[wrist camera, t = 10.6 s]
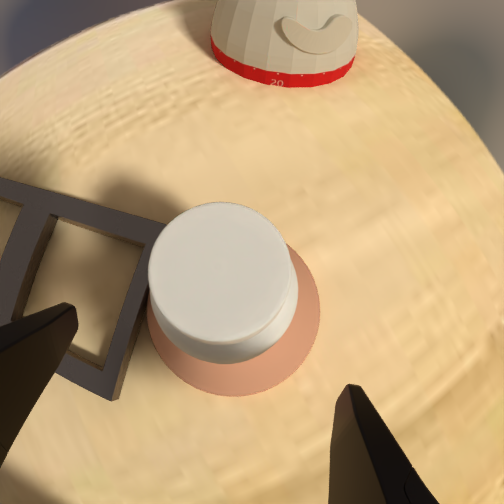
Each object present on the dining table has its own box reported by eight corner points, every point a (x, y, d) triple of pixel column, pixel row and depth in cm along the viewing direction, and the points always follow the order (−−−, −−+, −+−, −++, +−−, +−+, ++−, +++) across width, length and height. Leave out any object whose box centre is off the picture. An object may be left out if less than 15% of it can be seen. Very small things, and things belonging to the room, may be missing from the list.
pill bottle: (281, 355, 17) (326, 361, 8) (185, 360, 17) (121, 370, 8) (273, 262, 19) (304, 175, 9) (182, 267, 18) (127, 185, 9)
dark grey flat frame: (118, 398, 16) (111, 401, 15) (-63, 281, 18) (-71, 278, 17) (173, 232, 20) (169, 225, 19) (-21, 175, 21) (-28, 169, 20)
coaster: (291, 413, 17) (293, 415, 16) (129, 362, 17) (125, 362, 17) (333, 254, 20) (336, 252, 19) (181, 211, 20) (180, 207, 20)
